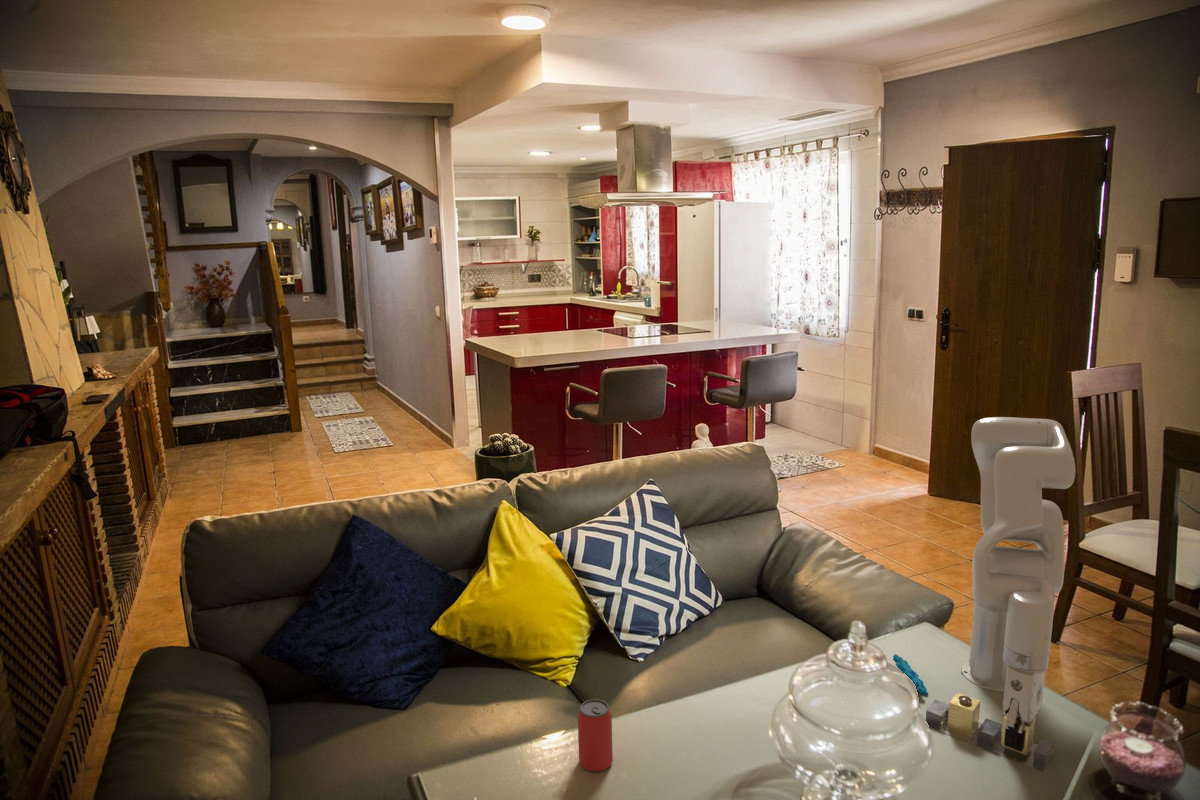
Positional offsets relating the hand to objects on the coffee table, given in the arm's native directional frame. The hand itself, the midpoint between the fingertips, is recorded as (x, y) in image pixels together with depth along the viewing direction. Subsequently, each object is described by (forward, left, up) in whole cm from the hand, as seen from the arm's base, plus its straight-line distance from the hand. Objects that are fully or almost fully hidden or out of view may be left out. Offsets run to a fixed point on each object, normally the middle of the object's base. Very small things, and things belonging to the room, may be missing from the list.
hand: (1017, 740), depth 151 cm
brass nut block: (0, 0, -1) cm, 1 cm away
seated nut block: (0, -10, -2) cm, 10 cm away
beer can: (+55, -60, -3) cm, 82 cm away
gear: (-9, -24, -3) cm, 26 cm away
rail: (0, -5, -3) cm, 6 cm away
